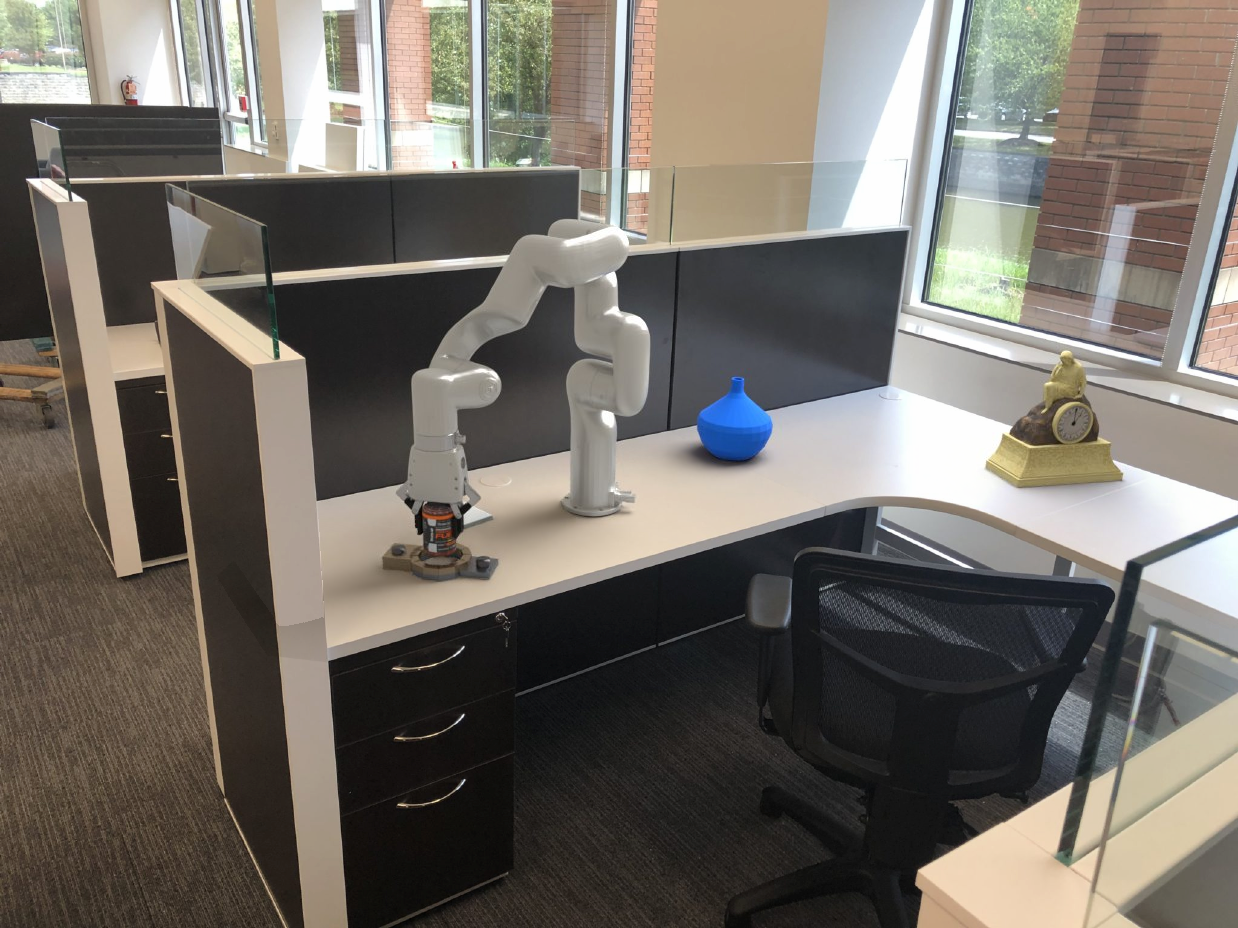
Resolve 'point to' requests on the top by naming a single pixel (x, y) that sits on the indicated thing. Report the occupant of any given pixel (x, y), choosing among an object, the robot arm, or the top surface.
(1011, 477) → the decorative clock
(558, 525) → the top surface
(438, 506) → the supplement bottle
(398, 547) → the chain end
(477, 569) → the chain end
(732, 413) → the vase
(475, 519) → the external hard drive
